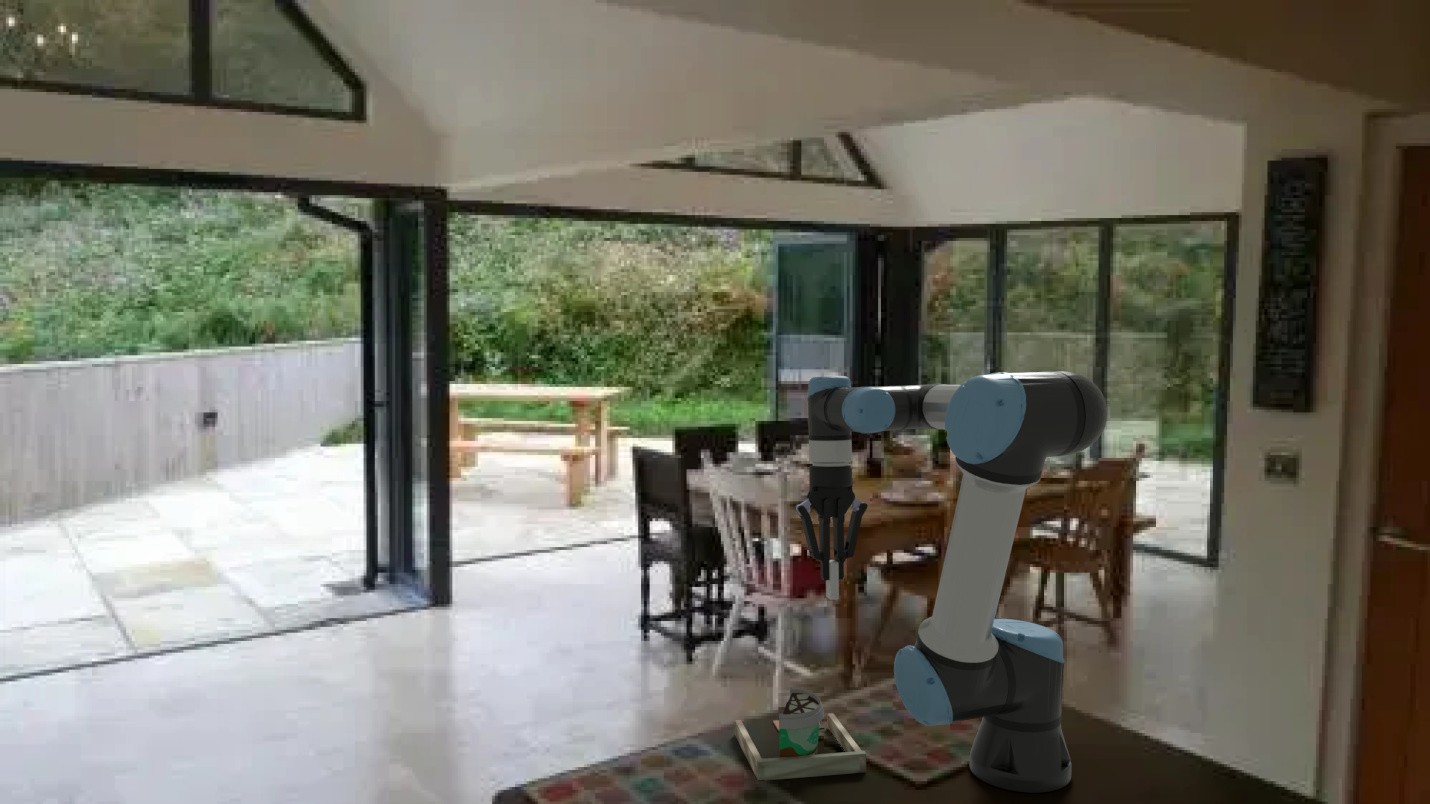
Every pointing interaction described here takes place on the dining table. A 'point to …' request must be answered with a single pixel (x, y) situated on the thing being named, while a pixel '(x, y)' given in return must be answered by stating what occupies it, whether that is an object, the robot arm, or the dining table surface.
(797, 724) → the food container
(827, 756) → the beige u-shaped frame
